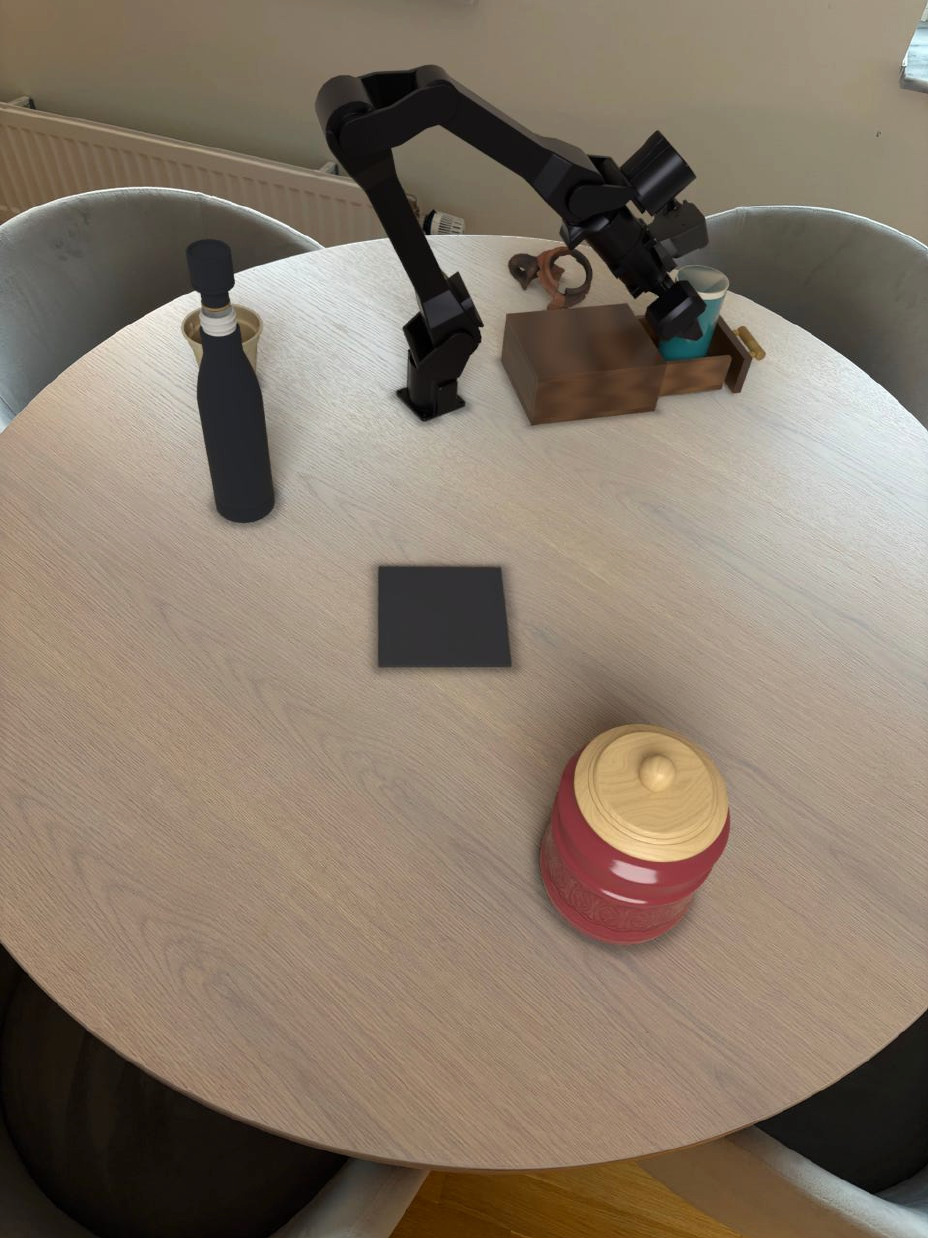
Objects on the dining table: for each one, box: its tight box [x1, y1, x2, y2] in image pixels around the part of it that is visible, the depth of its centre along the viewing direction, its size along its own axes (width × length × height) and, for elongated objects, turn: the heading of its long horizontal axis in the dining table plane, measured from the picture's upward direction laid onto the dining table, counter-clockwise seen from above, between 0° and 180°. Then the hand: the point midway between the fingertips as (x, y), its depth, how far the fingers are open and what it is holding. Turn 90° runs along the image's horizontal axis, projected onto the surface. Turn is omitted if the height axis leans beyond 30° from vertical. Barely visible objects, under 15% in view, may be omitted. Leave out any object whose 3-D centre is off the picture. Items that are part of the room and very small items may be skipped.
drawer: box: [635, 313, 767, 397], centre depth 124 cm, size 20×12×5 cm, turn 105°
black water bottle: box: [185, 238, 276, 524], centre depth 94 cm, size 6×6×30 cm
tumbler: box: [657, 264, 730, 361], centre depth 120 cm, size 6×6×12 cm
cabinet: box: [500, 302, 667, 426], centre depth 121 cm, size 17×14×7 cm
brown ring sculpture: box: [507, 245, 594, 310], centre depth 134 cm, size 12×10×8 cm
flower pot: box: [180, 302, 264, 375], centre depth 115 cm, size 9×9×9 cm
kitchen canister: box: [539, 723, 731, 946], centre depth 73 cm, size 13×13×18 cm
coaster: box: [377, 566, 512, 668], centre depth 97 cm, size 13×13×1 cm
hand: (684, 316), depth 119 cm, fingers open, 9 cm apart
